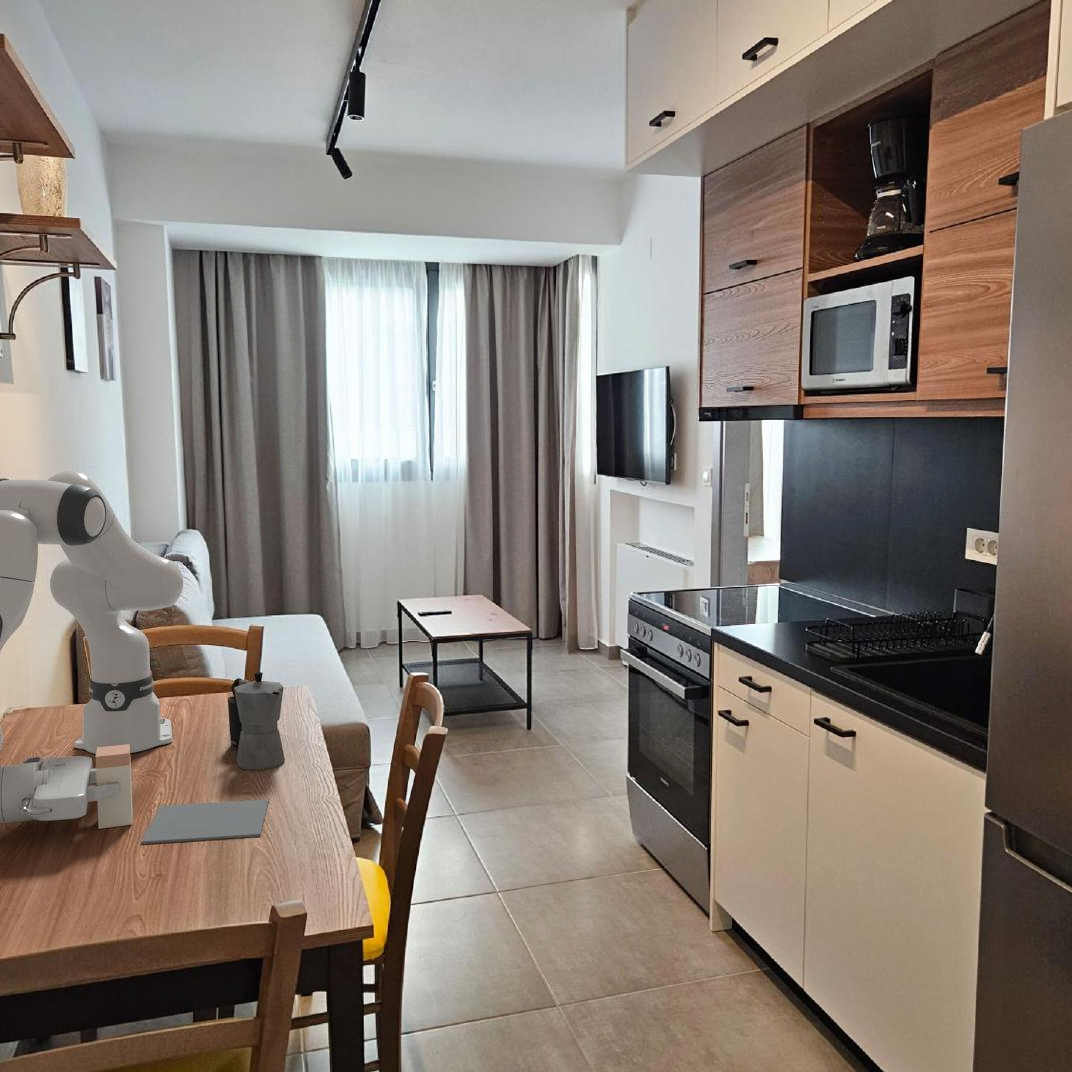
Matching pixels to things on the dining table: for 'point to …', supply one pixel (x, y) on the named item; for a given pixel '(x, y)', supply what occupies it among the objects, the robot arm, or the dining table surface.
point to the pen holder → (234, 723)
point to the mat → (207, 821)
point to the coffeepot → (258, 723)
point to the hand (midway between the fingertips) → (120, 781)
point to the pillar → (114, 768)
